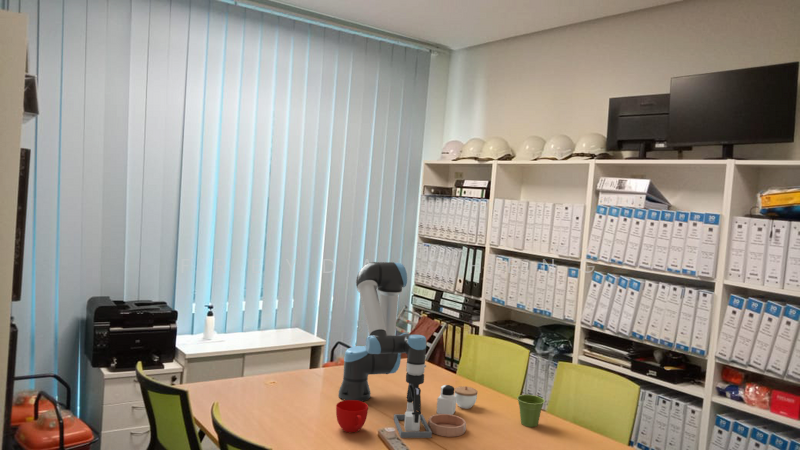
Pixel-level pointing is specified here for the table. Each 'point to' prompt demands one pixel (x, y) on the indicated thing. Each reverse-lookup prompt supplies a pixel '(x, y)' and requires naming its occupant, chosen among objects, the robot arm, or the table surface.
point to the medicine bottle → (446, 400)
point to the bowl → (447, 425)
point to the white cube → (409, 421)
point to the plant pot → (530, 409)
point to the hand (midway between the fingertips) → (412, 423)
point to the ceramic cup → (351, 415)
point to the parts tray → (412, 434)
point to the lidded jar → (465, 396)
